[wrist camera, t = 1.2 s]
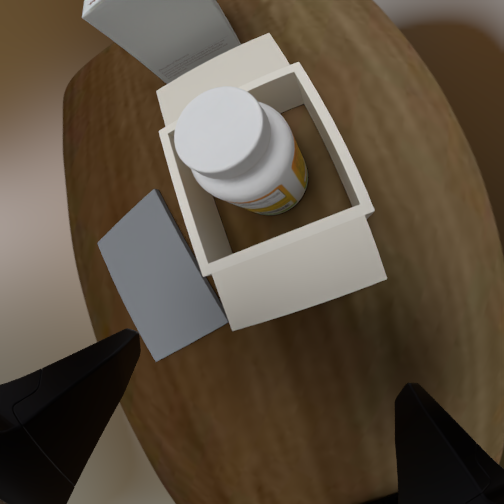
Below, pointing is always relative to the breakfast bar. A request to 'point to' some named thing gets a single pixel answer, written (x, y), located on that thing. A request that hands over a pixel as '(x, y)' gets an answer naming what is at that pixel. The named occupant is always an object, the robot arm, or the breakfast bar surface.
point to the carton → (291, 243)
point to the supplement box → (164, 31)
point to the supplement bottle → (241, 151)
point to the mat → (160, 278)
